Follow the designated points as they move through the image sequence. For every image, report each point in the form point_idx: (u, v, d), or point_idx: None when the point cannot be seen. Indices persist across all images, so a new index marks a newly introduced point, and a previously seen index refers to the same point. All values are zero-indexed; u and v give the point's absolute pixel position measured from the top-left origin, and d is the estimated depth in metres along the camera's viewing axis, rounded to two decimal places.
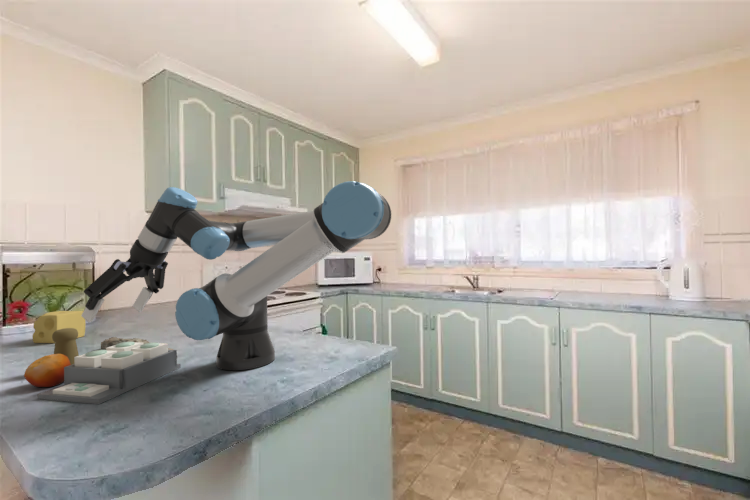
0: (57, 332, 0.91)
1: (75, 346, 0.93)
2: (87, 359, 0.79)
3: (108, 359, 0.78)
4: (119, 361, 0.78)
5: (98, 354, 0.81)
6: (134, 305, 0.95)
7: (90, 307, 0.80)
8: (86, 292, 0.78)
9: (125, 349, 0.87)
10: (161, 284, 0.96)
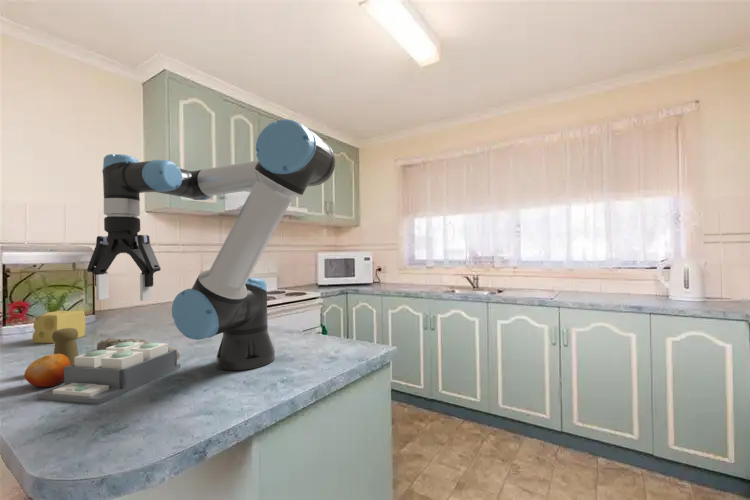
0: (57, 332, 0.91)
1: (75, 346, 0.93)
2: (87, 359, 0.79)
3: (108, 359, 0.78)
4: (119, 361, 0.78)
5: (98, 354, 0.81)
6: None
7: (95, 283, 0.91)
8: None
9: (125, 349, 0.87)
10: (148, 264, 0.87)
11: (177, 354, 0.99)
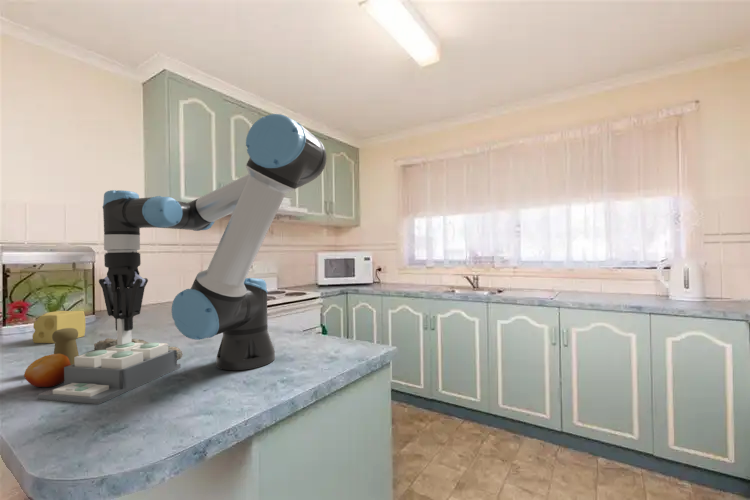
0: (57, 332, 0.91)
1: (75, 346, 0.93)
2: (87, 359, 0.79)
3: (108, 359, 0.78)
4: (119, 361, 0.78)
5: (98, 354, 0.81)
6: None
7: (116, 327, 0.89)
8: None
9: (125, 350, 0.87)
10: (130, 308, 0.88)
11: (180, 353, 1.01)
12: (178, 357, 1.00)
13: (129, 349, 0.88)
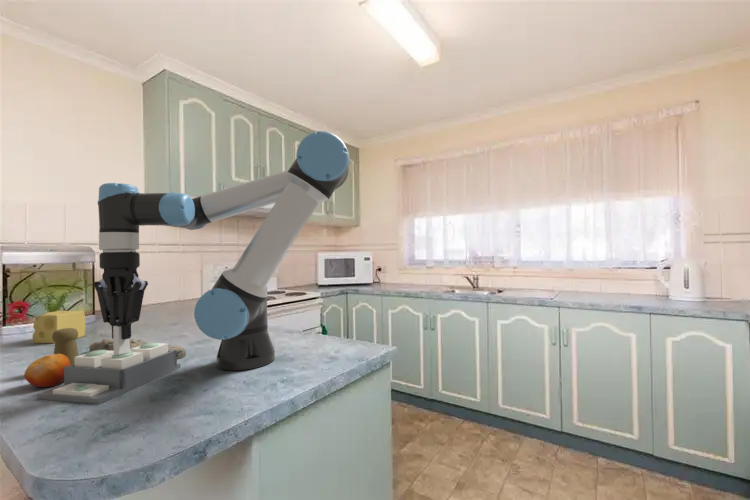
0: (57, 332, 0.91)
1: (75, 346, 0.93)
2: (87, 359, 0.79)
3: (108, 360, 0.78)
4: (119, 361, 0.78)
5: (98, 354, 0.81)
6: None
7: (112, 335, 0.80)
8: None
9: None
10: (128, 315, 0.79)
11: (185, 351, 1.02)
12: (183, 355, 1.01)
13: None
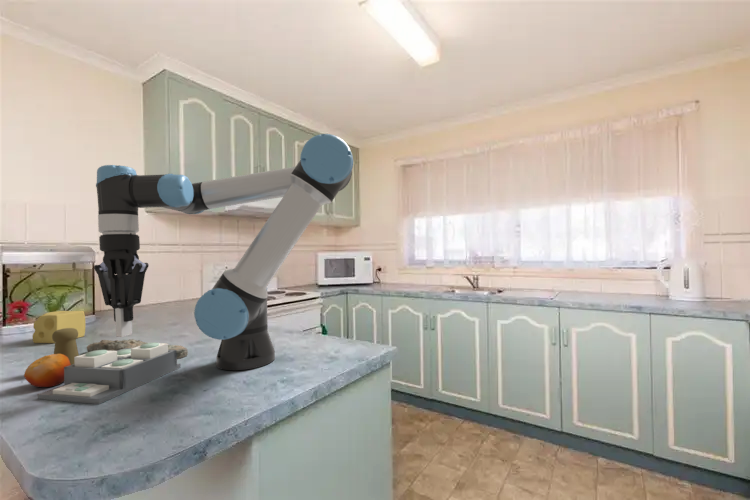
0: (57, 332, 0.91)
1: (75, 346, 0.93)
2: (87, 359, 0.79)
3: (108, 367, 0.78)
4: None
5: (98, 354, 0.81)
6: None
7: (114, 318, 0.80)
8: None
9: None
10: (129, 296, 0.79)
11: (187, 350, 1.03)
12: (185, 355, 1.02)
13: None
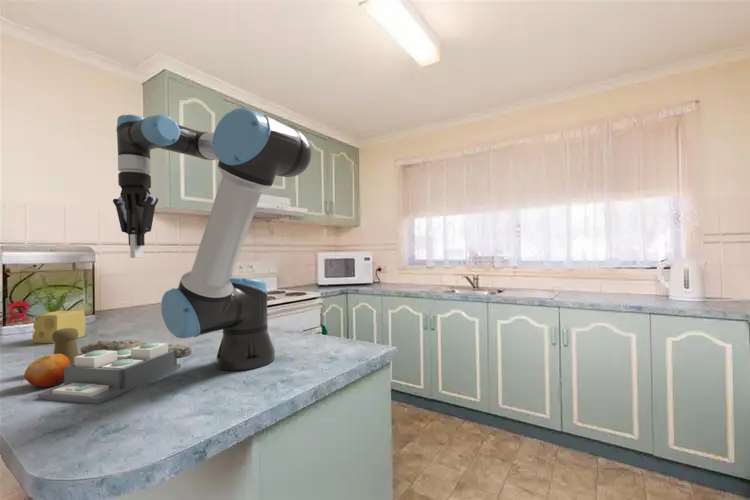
0: (57, 332, 0.91)
1: (75, 346, 0.93)
2: (87, 359, 0.79)
3: (108, 367, 0.78)
4: None
5: (98, 354, 0.81)
6: None
7: (129, 243, 0.97)
8: None
9: None
10: (142, 224, 0.96)
11: None
12: (189, 352, 1.04)
13: None
